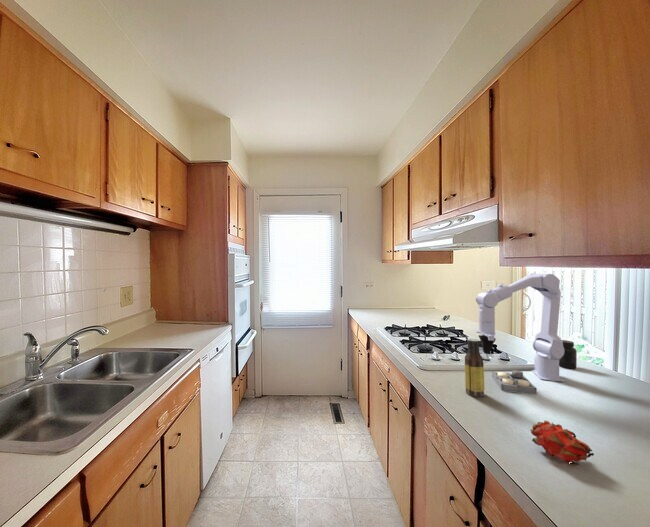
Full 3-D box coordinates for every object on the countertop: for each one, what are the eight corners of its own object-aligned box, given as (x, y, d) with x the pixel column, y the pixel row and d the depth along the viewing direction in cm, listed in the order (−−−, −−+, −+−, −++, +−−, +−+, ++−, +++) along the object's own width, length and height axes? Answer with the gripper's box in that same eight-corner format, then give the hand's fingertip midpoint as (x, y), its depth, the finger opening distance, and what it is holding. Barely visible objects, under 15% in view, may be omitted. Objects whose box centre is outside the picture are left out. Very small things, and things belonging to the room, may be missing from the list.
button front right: (501, 382, 109) (501, 377, 109) (511, 383, 107) (511, 378, 107) (503, 386, 105) (503, 381, 105) (514, 387, 104) (514, 382, 104)
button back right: (496, 376, 115) (496, 371, 115) (506, 377, 114) (506, 372, 114) (498, 379, 111) (498, 374, 111) (509, 380, 110) (509, 375, 110)
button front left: (516, 384, 107) (516, 379, 107) (527, 385, 106) (527, 380, 106) (519, 388, 104) (519, 382, 104) (531, 389, 102) (531, 384, 102)
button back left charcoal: (510, 374, 113) (510, 369, 113) (520, 375, 112) (520, 370, 112) (513, 378, 110) (513, 373, 110) (524, 379, 109) (524, 374, 109)
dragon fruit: (526, 448, 73) (588, 480, 65) (524, 442, 68) (590, 476, 60) (534, 417, 76) (594, 444, 68) (533, 409, 71) (598, 437, 62)
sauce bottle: (487, 394, 101) (487, 340, 101) (478, 399, 97) (478, 343, 97) (470, 388, 106) (470, 336, 106) (461, 392, 102) (461, 339, 103)
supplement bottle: (554, 365, 130) (554, 340, 130) (561, 363, 133) (561, 338, 133) (572, 370, 124) (571, 344, 124) (579, 368, 127) (579, 342, 127)
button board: (492, 377, 116) (492, 371, 116) (523, 380, 113) (522, 374, 113) (501, 390, 104) (501, 384, 104) (536, 394, 101) (536, 388, 101)
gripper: (472, 317, 124) (472, 347, 123) (480, 324, 110) (480, 358, 110) (490, 318, 121) (490, 349, 121) (500, 325, 108) (500, 359, 107)
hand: (486, 353), depth 115 cm, fingers closed
